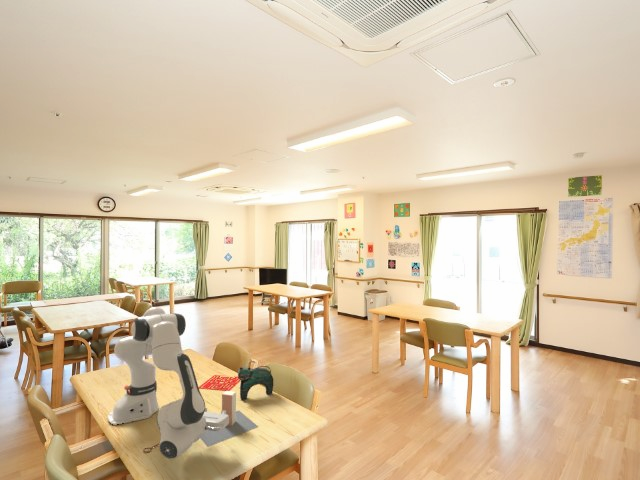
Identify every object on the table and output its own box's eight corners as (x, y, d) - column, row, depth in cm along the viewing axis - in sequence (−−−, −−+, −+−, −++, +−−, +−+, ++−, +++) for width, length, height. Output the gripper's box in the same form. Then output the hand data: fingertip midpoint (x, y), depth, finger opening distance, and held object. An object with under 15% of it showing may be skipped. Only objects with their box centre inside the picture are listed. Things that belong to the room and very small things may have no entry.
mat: (207, 448, 141) (207, 446, 141) (191, 428, 156) (191, 426, 156) (258, 428, 156) (258, 426, 156) (238, 411, 171) (238, 410, 171)
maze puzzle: (229, 391, 196) (229, 390, 196) (197, 389, 199) (197, 387, 199) (243, 378, 215) (243, 377, 215) (214, 376, 219) (214, 375, 219)
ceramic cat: (238, 402, 182) (238, 364, 182) (236, 397, 188) (236, 361, 188) (274, 395, 190) (274, 359, 190) (271, 390, 196) (271, 356, 196)
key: (173, 434, 153) (139, 450, 140) (172, 432, 153) (139, 448, 140) (180, 437, 149) (146, 454, 137) (180, 435, 149) (146, 452, 137)
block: (231, 425, 157) (231, 395, 157) (222, 424, 158) (222, 394, 158) (235, 421, 161) (235, 391, 161) (226, 420, 162) (226, 390, 162)
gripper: (218, 422, 132) (236, 406, 145) (173, 416, 137) (195, 401, 150) (218, 438, 132) (236, 421, 145) (173, 431, 137) (195, 415, 150)
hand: (215, 410), depth 148 cm, fingers open, 8 cm apart
